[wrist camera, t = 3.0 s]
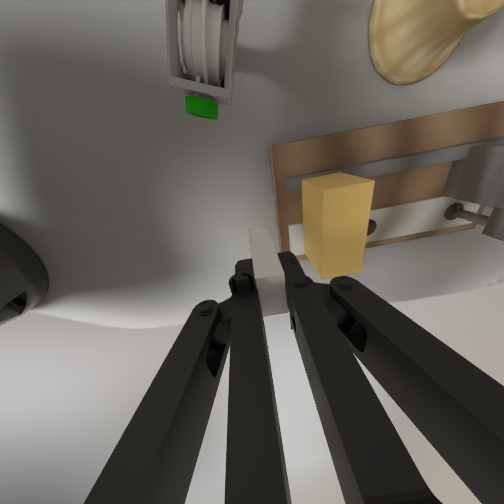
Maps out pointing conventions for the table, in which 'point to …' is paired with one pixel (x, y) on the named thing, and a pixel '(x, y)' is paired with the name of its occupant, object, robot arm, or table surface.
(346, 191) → the block
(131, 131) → the table surface
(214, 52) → the mechanical component
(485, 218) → the board
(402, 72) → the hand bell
